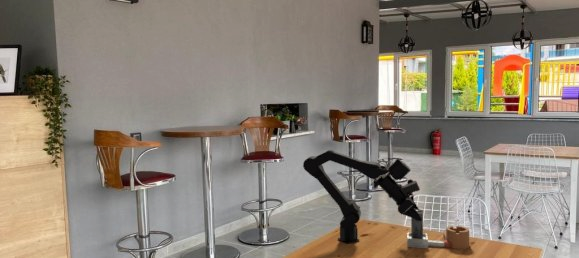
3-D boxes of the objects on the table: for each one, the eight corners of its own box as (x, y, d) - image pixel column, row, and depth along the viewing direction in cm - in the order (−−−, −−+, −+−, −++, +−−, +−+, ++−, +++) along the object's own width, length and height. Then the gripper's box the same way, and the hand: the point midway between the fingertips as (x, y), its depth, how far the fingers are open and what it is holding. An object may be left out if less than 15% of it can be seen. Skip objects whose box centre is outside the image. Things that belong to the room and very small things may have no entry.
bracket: (470, 250, 171) (471, 232, 170) (447, 249, 173) (447, 231, 172) (463, 235, 188) (463, 219, 188) (442, 235, 190) (442, 218, 190)
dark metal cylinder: (413, 240, 175) (413, 211, 174) (409, 236, 179) (409, 209, 179) (424, 239, 175) (424, 211, 174) (420, 236, 179) (420, 208, 179)
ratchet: (407, 240, 182) (407, 232, 182) (453, 243, 178) (453, 235, 177) (407, 247, 175) (407, 238, 174) (455, 250, 170) (455, 241, 170)
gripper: (407, 178, 167) (438, 209, 165) (406, 170, 185) (434, 197, 183) (385, 198, 170) (415, 229, 168) (387, 188, 188) (414, 216, 186)
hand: (421, 217), depth 176 cm, fingers open, 9 cm apart
